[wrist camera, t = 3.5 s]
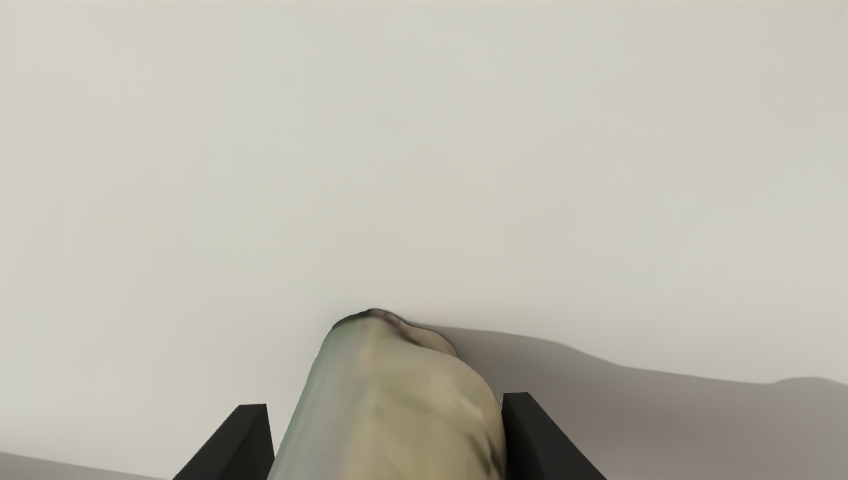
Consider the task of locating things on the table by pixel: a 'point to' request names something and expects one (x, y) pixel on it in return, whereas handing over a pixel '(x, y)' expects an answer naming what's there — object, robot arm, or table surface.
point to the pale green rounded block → (391, 410)
